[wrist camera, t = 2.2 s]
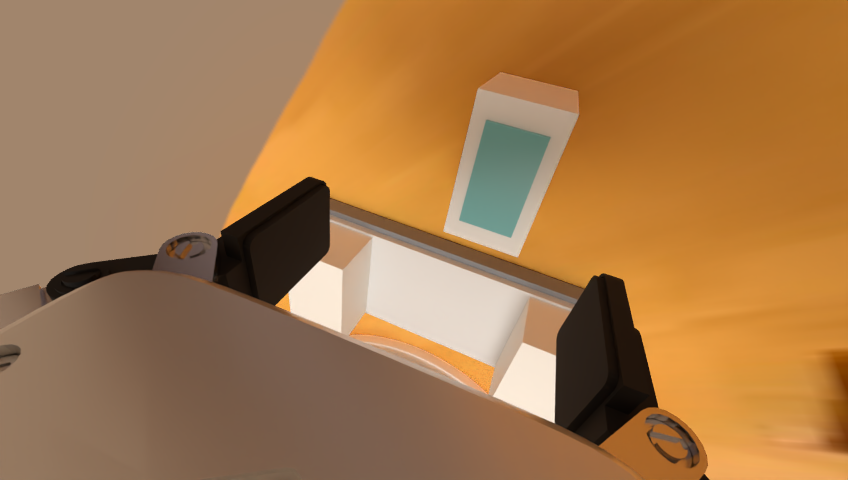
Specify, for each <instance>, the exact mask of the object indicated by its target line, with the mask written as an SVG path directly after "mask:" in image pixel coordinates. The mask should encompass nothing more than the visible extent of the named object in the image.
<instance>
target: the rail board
mask: <svg viewBox="0 0 848 480" xmlns="http://www.w3.org/2000/svg"><path fill="white" fill-rule="evenodd" d="M583 291H584V289H582V288H580V287H577V286H574V285H571V284H568V283H566V282H563V281H560V280H557V279H554V278H552V277H549V276H546V275H543V274H540V273H538V272H535V271H532V270H529V269H526V268H524V267H521V266H518V265H515V264H512V263H510V262H507V261H504V260H501V259H498V258H496V257H493V256H490V255H487V254H484V253H482V252H479V251H476V250H473V249H470V248H468V247H465V246H462V245H459V244H456V243H454V242H451V241H448V240H445V239H442V238H440V237H437V236H434V235H431V234H428V233H426V232H423V231H420V230H417V229H414V228H412V227H409V226H406V225H403V224H400V223H398V222H395V221H392V220H389V219H386V218H384V217H381V216H378V215H375V214H372V213H370V212H367V211H364V210H361V209H358V208H356V207H353V206H350V205H347V204H344V203H342V202H339V201H336V200H333V199H330V248H329V251H328V253H327V254H326V255H325V256H324V257H323V258H322V259H321V260H320V261H319V262H318V263H317V264H316V265H315V266H314V267H313V268H312V269H311V270H310V271H309V272H308V273H307V274H306V275H305V276H304V277H303V278H302V279H301V280H300V281H299V282H298V283H297V284H296V285H295V286H294V287H293V288H292V289H291V290H290V291H289V301H290V310H291V313H294V314H296V315H299V316H301V317H303V318H306V319H308V320H311V321H313V322H316V323H318V324H321V325H323V326H326V327H328V328H330V329H333V330H335V331H338V332H340V333H343V334H345V335H347V336H349V334H350V333H351V332H352V330H353V329H354V327H355V326H356V325H357V323H358V322H359V321H360V319H361V318H362V316H363V315H364V314H365V313H368V314H370V315H372V316H375V317H377V318H379V319H382V320H384V321H387V322H389V323H391V324H394V325H396V326H398V327H401V328H403V329H405V330H408V331H410V332H413V333H415V334H417V335H420V336H422V337H424V338H427V339H429V340H431V341H434V342H436V343H438V344H441V345H443V346H446V347H448V348H450V349H453V350H455V351H457V352H460V353H462V354H464V355H467V356H469V357H471V358H474V359H476V360H479V361H481V362H483V363H486V364H488V365H490V366H493V367H495V368H494V373H493V377H492V381H491V386H490V390H489V395H491V396H493V397H496V398H498V399H500V400H503V401H505V402H507V403H510V404H512V405H514V406H516V407H519V408H521V409H523V410H525V411H528V412H530V413H532V414H535V415H537V416H539V417H541V418H544V419H546V420H548V421H551V422H553V423H555V376H556V338H557V334H558V331H559V329H560V328H561V326H562V324H563V323H564V321H565V320H566V318H567V316H568V315H569V313H570V312H571V310H572V309H573V307H574V305H575V304H576V302H577V301H578V299H579V297H580V296H581V294H582V293H583Z"/></svg>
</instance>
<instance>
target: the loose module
mask: <svg viewBox="0 0 848 480" xmlns="http://www.w3.org/2000/svg"><path fill="white" fill-rule="evenodd" d="M578 116H579V97H578V91H577V90H573V89H568V88H564V87H560V86H556V85H552V84H548V83H544V82H540V81H536V80H532V79H527V78H523V77H519V76H515V75H511V74H507V73H503V72H500V73H499V74H497V75H496V76H494V77H493V78H492V79H490V80H489V81H487V82H486V83H485V84H483V85H482V86H480V87H479V88H478V90H477V94H476V98H475V103H474V107H473V111H472V115H471V119H470V123H469V127H468V132H467V136H466V140H465V144H464V148H463V152H462V156H461V161H460V165H459V169H458V173H457V177H456V181H455V185H454V190H453V194H452V198H451V202H450V206H449V210H448V214H447V219H446V223H445V227H444V232H447V233H449V234H452V235H455V236H458V237H461V238H464V239H466V240H469V241H472V242H475V243H478V244H481V245H483V246H486V247H489V248H492V249H495V250H498V251H501V252H503V253H506V254H509V255H512V256H515V257H518V256H519V254H520V251H521V249H522V247H523V244H524V242H525V240H526V237H527V235H528V233H529V230H530V228H531V226H532V223H533V221H534V219H535V216H536V214H537V212H538V209H539V207H540V205H541V202H542V200H543V198H544V195H545V193H546V191H547V188H548V186H549V184H550V181H551V179H552V177H553V174H554V172H555V170H556V167H557V165H558V163H559V160H560V158H561V156H562V153H563V151H564V149H565V146H566V144H567V142H568V139H569V137H570V135H571V132H572V130H573V128H574V125H575V123H576V121H577V118H578Z"/></svg>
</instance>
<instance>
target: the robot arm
mask: <svg viewBox="0 0 848 480" xmlns="http://www.w3.org/2000/svg"><path fill="white" fill-rule="evenodd" d="M221 235H222V237H220V238H218V239H216V238H215V237H214V236H212V235H210V234H206V233H202V232H191V233H184V234H181V235H178V236H175V237H173V238H171V239H169V240H167V241H166V242H165V243H163V244H162V246H161V247H160V249H159V252H158V254H155V255H147V256H139V257H131V258H124V259H116V260H108V261H101V262H93V263H87V264H83V265H77V266H74V267H72V268H69V269H67V270H65V271H63V272H61V273H59V274H58V275H56V276H55V277H54V278H52V279H51V281H50V282H49V283H48V285H47V287H45V288H41V287H40V285H39V284H37V285H33V286H30V287H26V288H22V289H19V290H15V291H12V292H9V293H4V294H1V295H0V480H709V479H708V478H707V476H706V475H705V474H704V473H705V471H706V469H707V466H708V461H707V455H706V452H705V450H704V447H703V445H702V443H701V442H700V440H699V439H698V437H697V436H696V434H695V433H694V432H693V431H692V430H691V429H690V428H689V427H688V426H687V425H686V424H685V423H684V422H683V421H681V420H680V419H679V418H678V417H676V416H675V415H673V414H671V413H669V412H667V411H665V410H662V409H659V408H658V403H657V399H656V395H655V391H654V387H653V383H652V379H651V375H650V371H649V367H648V363H647V359H646V354H645V350H644V346H643V342H642V338H641V335H640V332H639V331H638V330H637V329H636V328H634V324H633V320H632V315H631V311H630V307H629V302H628V298H627V294H626V289H625V285H624V281H623V280H622V279H619V278H616V277H613V276H610V275H607V274H604V273H603V274H601V275H600V276H599V277H598V276H593V277H592V278H591V280H590V282H589V283H588V285H587V286H586V288H585V289H584V291H583V293H582V294H581V296H580V297H579V299H578V301H577V302H576V304H575V305H574V307H573V309H572V310H571V312H570V313H569V315H568V316H567V318H566V320H565V321H564V323H563V324H562V326H561V328H560V329H559V331H558V334H557V338H556V376H555V423H553V422H551V421H548V420H546V419H544V418H541V417H539V416H537V415H535V414H532V413H530V412H528V411H525V410H523V409H521V408H519V407H516V406H514V405H512V404H510V403H507V402H505V401H503V400H500V399H498V398H496V397H493V396H491V395H489V394H486V393H484V392H481V391H479V390H477V389H474V388H472V387H470V386H467V385H465V384H462V383H460V382H458V381H455V380H453V379H451V378H448V377H446V376H443V375H441V374H439V373H436V372H434V371H432V370H429V369H427V368H424V367H422V366H420V365H417V364H415V363H412V362H410V361H408V360H405V359H403V358H400V357H398V356H396V355H393V354H391V353H388V352H386V351H384V350H381V349H379V348H376V347H374V346H372V345H369V344H367V343H364V342H362V341H359V340H357V339H355V338H352V337H350V336H347V335H345V334H343V333H340V332H338V331H335V330H333V329H330V328H328V327H326V326H323V325H321V324H318V323H316V322H313V321H311V320H308V319H306V318H303V317H301V316H299V315H296V314H294V313H291V312H289V311H286V310H284V309H281V308H279V307H277V306H275V305H276V304H277V303H278V302H279V301H280V300H281V299H282V298H283V297H284V296H285V295H286V294H287V293H288V292H289V291H290V290H291V289H292V288H293V287H294V286H295V285H296V284H297V283H298V282H299V281H300V280H301V279H302V278H303V277H304V276H305V275H306V274H307V273H308V272H309V271H310V270H311V269H312V268H313V267H314V266H315V265H316V264H317V263H318V262H319V261H320V260H321V259H322V258H323V257H324V256H325V255H326V254H327V253H328V251H329V248H330V189H329V187H327V186H326V183H325V182H324V181H321V180H318V179H315V178H312V177H307V178H305V179H304V180H302V181H301V182H299V183H297V184H296V185H294V186H293V187H291V188H289V189H288V190H286V191H285V192H283V193H281V194H280V195H278V196H277V197H275V198H273V199H272V200H270V201H269V202H267V203H265V204H264V205H262V206H260V207H259V208H257V209H256V210H254V211H252V212H251V213H249V214H248V215H246V216H244V217H243V218H241V219H240V220H238V221H236V222H235V223H233V224H232V225H230V226H228V227H227V228H225V229H224V230H222V231H221Z"/></svg>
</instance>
